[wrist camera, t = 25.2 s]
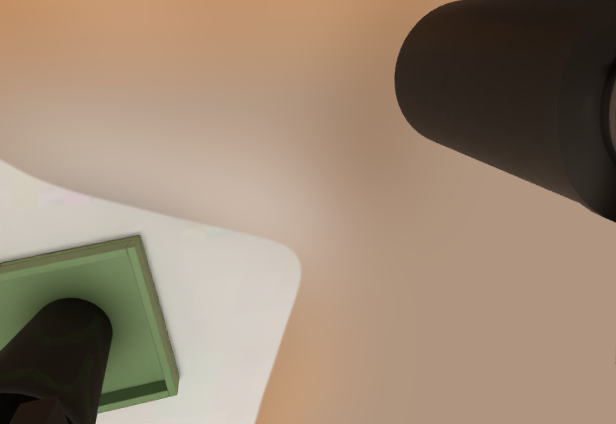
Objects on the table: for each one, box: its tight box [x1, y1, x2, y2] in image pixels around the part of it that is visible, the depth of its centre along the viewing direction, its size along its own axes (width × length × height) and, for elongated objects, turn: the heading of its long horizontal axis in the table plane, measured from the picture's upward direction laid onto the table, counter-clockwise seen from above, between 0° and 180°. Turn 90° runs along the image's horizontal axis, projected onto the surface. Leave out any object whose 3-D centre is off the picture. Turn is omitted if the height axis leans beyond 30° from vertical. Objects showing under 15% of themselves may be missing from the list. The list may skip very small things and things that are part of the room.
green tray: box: [0, 236, 179, 414], centre depth 38 cm, size 12×12×2 cm
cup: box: [0, 298, 113, 424], centre depth 32 cm, size 8×8×12 cm
